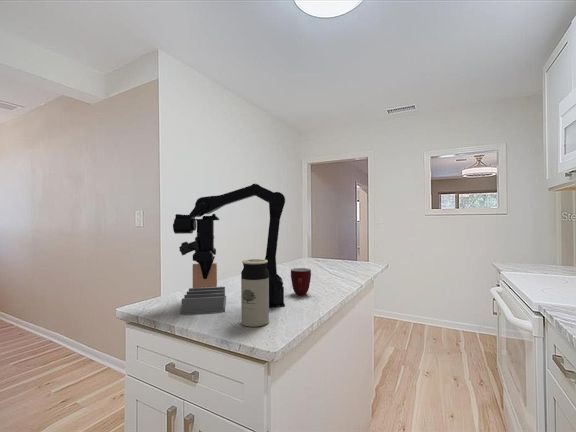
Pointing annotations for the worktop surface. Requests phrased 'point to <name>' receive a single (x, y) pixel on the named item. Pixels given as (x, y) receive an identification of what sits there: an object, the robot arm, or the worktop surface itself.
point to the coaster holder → (204, 300)
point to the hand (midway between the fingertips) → (205, 278)
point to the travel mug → (254, 293)
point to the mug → (300, 280)
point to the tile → (198, 277)
